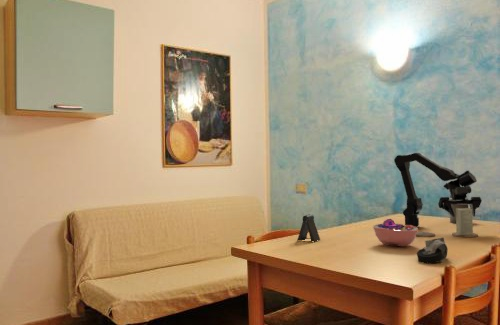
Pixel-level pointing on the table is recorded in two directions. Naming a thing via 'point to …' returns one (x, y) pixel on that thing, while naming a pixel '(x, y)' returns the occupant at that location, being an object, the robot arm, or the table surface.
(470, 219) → the skincare box
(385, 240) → the cell model
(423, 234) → the coaster
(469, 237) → the walnut coaster
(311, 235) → the black folding stand
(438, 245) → the caster wheel
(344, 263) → the table surface
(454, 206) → the pillar candle
